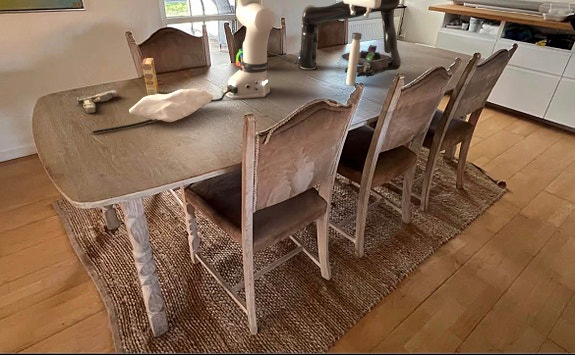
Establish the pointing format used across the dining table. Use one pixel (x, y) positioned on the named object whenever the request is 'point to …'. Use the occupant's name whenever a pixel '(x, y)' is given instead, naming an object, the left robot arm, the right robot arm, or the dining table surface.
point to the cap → (356, 36)
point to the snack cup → (240, 55)
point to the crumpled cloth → (171, 104)
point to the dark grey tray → (367, 55)
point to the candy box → (150, 76)
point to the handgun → (95, 100)
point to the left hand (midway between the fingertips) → (359, 16)
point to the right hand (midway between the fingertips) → (351, 72)
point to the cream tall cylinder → (353, 62)
